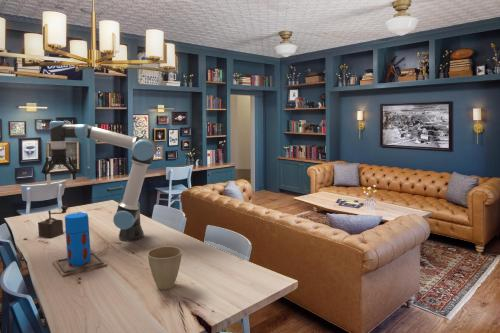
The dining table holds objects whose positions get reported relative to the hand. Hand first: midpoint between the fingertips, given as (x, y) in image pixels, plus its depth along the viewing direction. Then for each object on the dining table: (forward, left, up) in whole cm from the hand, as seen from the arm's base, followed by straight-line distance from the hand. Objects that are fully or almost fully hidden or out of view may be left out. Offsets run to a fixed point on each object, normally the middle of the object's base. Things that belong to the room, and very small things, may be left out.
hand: (61, 185), depth 214 cm
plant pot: (-69, +54, -37) cm, 95 cm away
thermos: (-20, +28, -36) cm, 49 cm away
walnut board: (-20, +28, -37) cm, 50 cm away
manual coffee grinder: (+18, -25, -37) cm, 48 cm away
